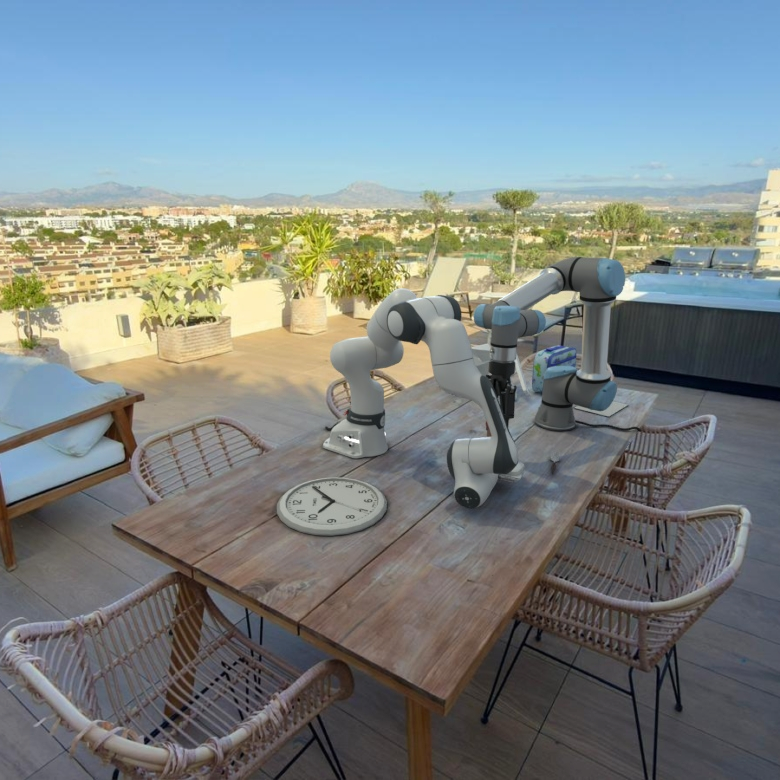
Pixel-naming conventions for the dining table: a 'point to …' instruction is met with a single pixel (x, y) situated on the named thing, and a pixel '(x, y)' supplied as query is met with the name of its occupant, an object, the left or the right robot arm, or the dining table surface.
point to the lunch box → (551, 363)
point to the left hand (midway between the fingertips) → (494, 455)
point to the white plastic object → (482, 364)
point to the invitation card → (609, 411)
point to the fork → (554, 461)
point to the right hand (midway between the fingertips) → (496, 433)
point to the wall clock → (331, 506)
